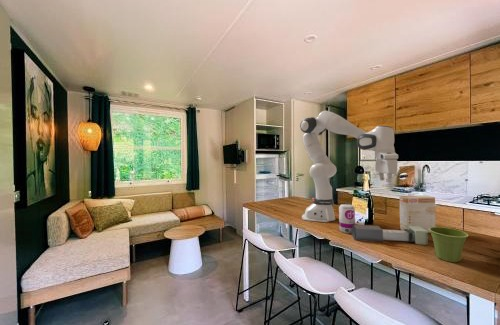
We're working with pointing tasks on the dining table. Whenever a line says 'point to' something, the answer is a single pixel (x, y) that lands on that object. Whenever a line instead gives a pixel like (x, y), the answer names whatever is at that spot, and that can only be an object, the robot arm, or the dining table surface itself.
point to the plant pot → (448, 243)
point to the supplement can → (346, 218)
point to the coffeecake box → (417, 212)
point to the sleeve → (367, 233)
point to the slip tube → (399, 235)
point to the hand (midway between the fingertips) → (385, 181)
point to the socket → (419, 234)
